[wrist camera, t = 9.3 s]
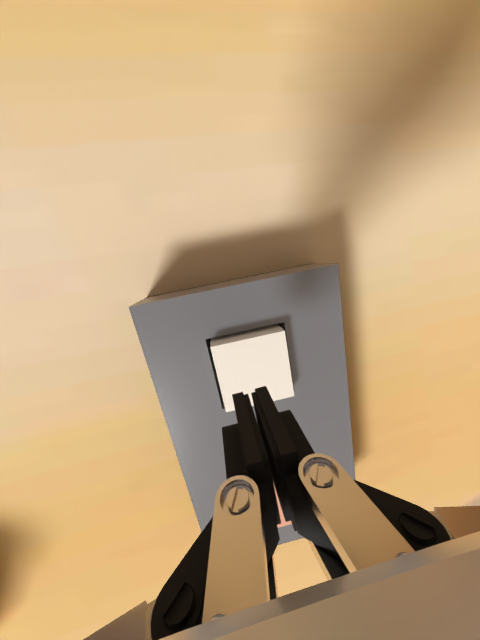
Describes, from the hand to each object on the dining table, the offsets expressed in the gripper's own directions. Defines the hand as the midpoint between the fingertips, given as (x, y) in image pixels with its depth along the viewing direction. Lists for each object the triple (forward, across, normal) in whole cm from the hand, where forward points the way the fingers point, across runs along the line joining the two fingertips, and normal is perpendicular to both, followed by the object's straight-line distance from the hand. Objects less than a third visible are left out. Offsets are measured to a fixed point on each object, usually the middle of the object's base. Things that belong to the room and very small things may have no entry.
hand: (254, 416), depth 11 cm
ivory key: (+8, -1, 0) cm, 8 cm away
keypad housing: (+10, -1, +6) cm, 12 cm away
